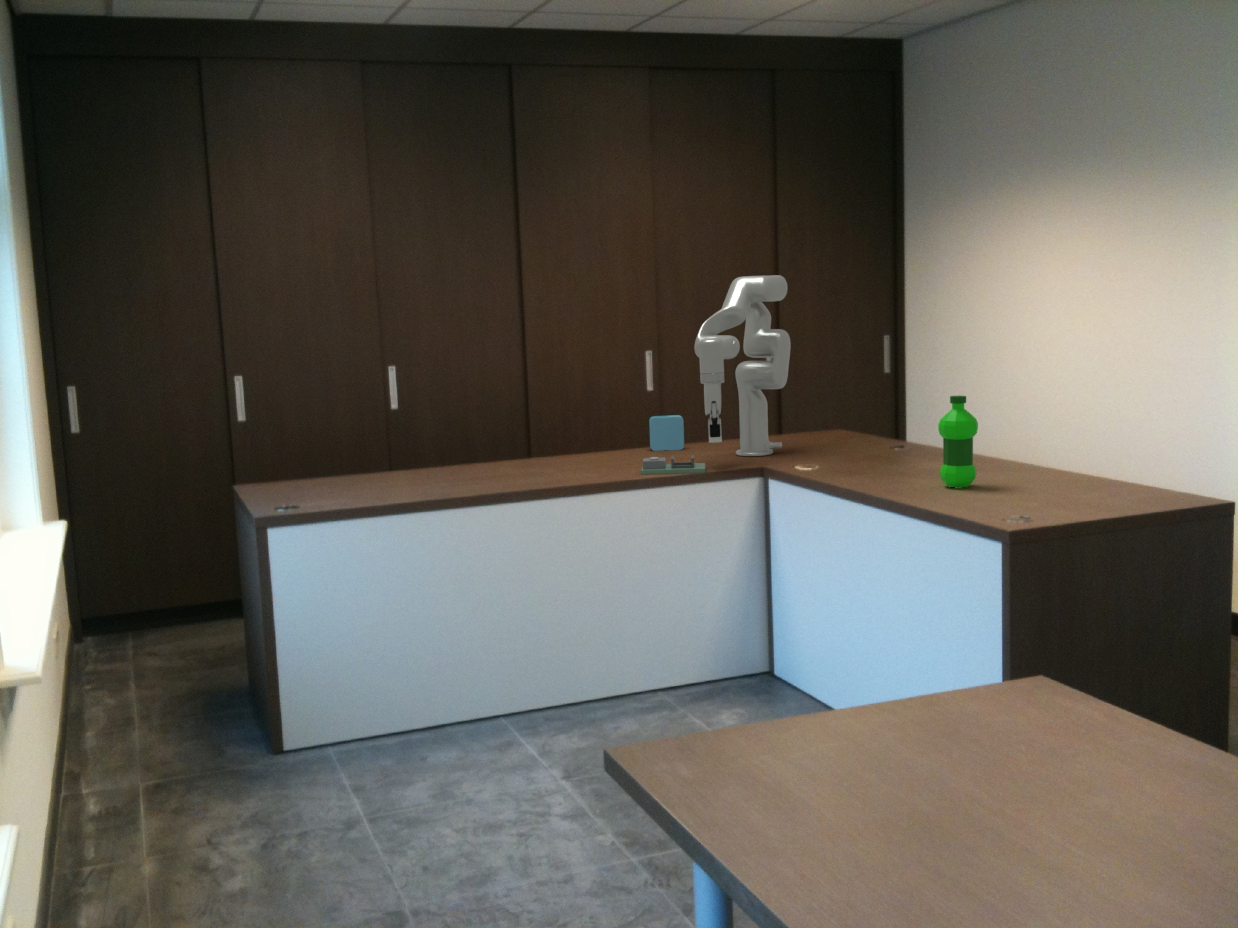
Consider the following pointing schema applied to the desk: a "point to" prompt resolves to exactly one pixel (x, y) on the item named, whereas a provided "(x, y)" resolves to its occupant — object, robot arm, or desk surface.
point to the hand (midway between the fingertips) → (715, 435)
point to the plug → (714, 439)
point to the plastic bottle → (958, 444)
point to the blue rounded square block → (666, 433)
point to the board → (670, 466)
